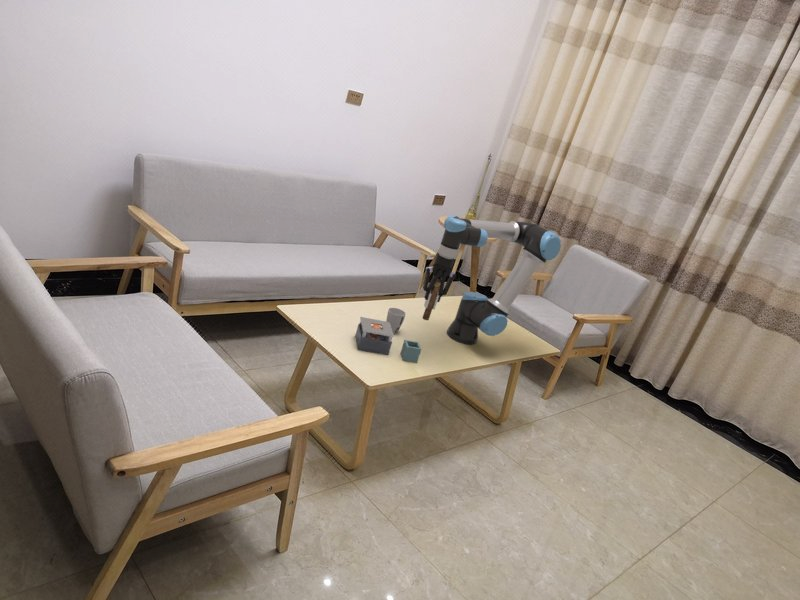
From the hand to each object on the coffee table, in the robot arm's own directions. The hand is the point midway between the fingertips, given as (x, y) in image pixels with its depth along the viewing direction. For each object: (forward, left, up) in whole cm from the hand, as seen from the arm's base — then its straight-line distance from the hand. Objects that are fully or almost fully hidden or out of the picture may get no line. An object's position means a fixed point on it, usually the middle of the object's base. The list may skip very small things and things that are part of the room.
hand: (429, 307), depth 229 cm
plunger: (+20, +2, -16) cm, 26 cm away
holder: (+5, +8, -21) cm, 23 cm away
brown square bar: (0, 0, -5) cm, 5 cm away
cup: (+9, -16, -21) cm, 28 cm away
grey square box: (+20, +2, -21) cm, 29 cm away
